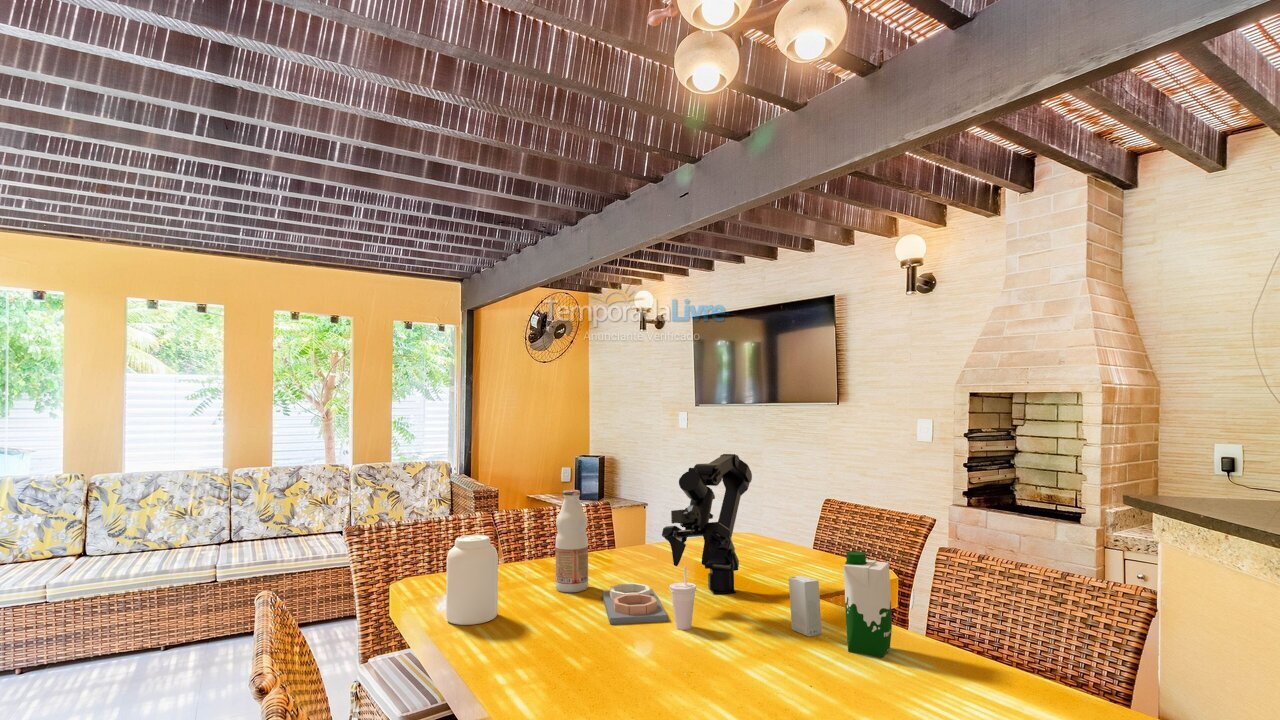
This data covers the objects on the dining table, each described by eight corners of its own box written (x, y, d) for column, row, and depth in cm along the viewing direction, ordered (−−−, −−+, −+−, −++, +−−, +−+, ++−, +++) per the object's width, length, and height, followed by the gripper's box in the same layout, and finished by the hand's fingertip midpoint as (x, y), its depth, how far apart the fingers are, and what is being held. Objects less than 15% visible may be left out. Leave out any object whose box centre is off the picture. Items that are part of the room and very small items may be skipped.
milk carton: (853, 640, 147) (850, 548, 149) (896, 647, 142) (892, 552, 144) (842, 652, 140) (839, 555, 141) (887, 660, 135) (883, 560, 137)
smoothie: (698, 631, 154) (697, 570, 155) (670, 631, 154) (669, 570, 155) (696, 622, 160) (695, 563, 161) (669, 623, 160) (668, 563, 161)
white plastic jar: (507, 617, 166) (508, 536, 168) (463, 629, 157) (464, 543, 159) (479, 607, 175) (479, 530, 176) (436, 618, 166) (437, 537, 167)
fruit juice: (557, 594, 187) (556, 493, 189) (554, 585, 196) (553, 489, 198) (590, 591, 189) (589, 492, 191) (585, 583, 198) (585, 488, 200)
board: (652, 594, 185) (652, 581, 186) (667, 621, 162) (667, 606, 162) (602, 596, 183) (602, 583, 184) (609, 624, 160) (609, 609, 160)
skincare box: (822, 634, 151) (820, 580, 152) (807, 637, 149) (805, 582, 150) (804, 626, 157) (803, 574, 157) (789, 629, 155) (788, 576, 155)
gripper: (654, 498, 178) (641, 554, 170) (709, 491, 166) (698, 551, 158) (680, 515, 184) (669, 570, 176) (735, 509, 172) (725, 568, 163)
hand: (689, 565), depth 168 cm, fingers open, 9 cm apart
